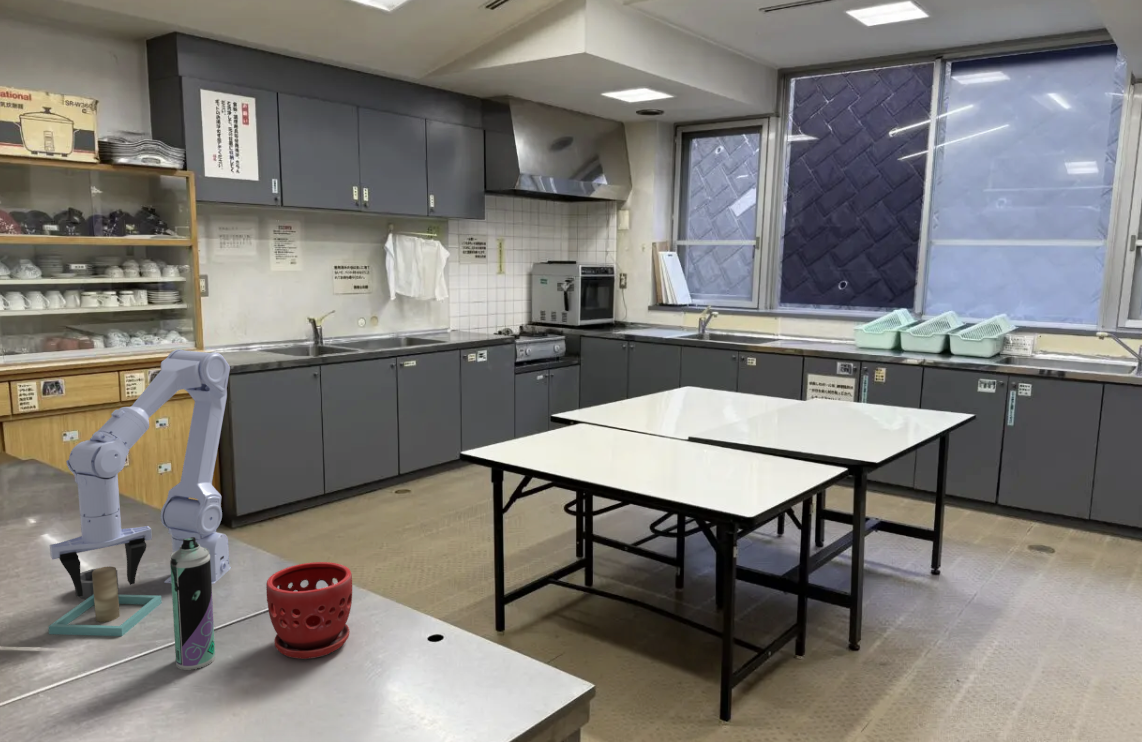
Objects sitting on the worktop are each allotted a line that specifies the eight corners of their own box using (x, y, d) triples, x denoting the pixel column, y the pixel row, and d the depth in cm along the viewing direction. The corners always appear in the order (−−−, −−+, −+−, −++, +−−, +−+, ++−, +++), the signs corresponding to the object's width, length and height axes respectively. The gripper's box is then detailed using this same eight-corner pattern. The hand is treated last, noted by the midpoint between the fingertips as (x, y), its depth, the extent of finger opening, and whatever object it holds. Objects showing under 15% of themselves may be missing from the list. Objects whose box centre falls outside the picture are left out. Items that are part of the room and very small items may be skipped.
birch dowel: (122, 612, 133) (119, 565, 132) (115, 621, 130) (111, 574, 128) (100, 613, 132) (96, 567, 131) (92, 623, 129) (88, 575, 128)
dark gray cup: (126, 585, 144) (124, 568, 144) (104, 601, 138) (103, 583, 137) (91, 584, 144) (89, 567, 144) (67, 600, 138) (66, 582, 137)
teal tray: (161, 605, 137) (161, 595, 137) (122, 638, 125) (121, 628, 125) (94, 603, 137) (94, 593, 137) (49, 636, 125) (48, 626, 125)
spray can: (199, 672, 116) (192, 546, 113) (167, 667, 117) (160, 543, 114) (222, 654, 121) (217, 533, 118) (192, 649, 122) (185, 530, 119)
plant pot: (369, 633, 129) (368, 566, 127) (318, 673, 117) (316, 599, 115) (305, 619, 133) (303, 553, 131) (250, 655, 121) (247, 584, 119)
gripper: (142, 497, 136) (147, 569, 138) (44, 513, 126) (51, 591, 128) (152, 507, 131) (157, 582, 133) (51, 526, 121) (57, 606, 123)
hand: (105, 588), depth 130 cm, fingers open, 7 cm apart
